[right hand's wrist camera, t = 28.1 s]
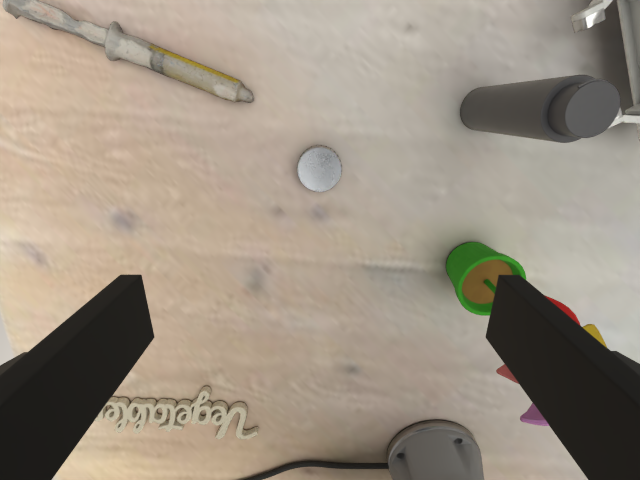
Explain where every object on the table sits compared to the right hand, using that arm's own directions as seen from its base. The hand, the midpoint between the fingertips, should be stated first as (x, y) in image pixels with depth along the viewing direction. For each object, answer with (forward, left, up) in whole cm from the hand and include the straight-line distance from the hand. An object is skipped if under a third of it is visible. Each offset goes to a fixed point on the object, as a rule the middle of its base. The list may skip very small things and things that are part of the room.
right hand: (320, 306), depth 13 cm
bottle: (+20, 0, -31) cm, 36 cm away
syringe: (-14, +18, -31) cm, 38 cm away
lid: (0, 0, -29) cm, 29 cm away
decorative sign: (-35, -28, -31) cm, 54 cm away
